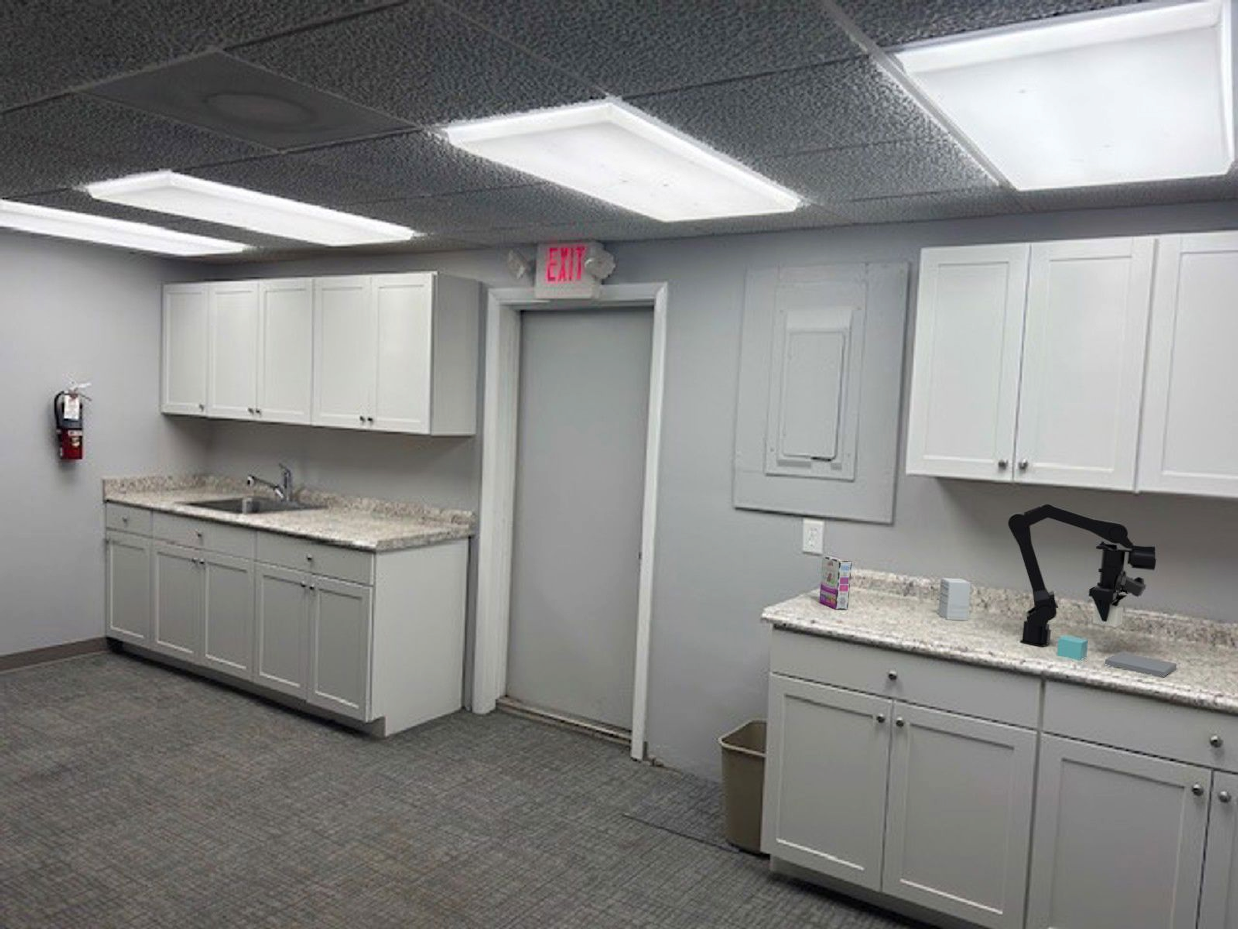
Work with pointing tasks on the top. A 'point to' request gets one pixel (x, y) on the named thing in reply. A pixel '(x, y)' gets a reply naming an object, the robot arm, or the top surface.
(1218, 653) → the top surface
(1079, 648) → the teal brick
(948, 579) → the supplement box
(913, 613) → the top surface
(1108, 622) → the cream brick
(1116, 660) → the baseplate
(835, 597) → the candy bar box
